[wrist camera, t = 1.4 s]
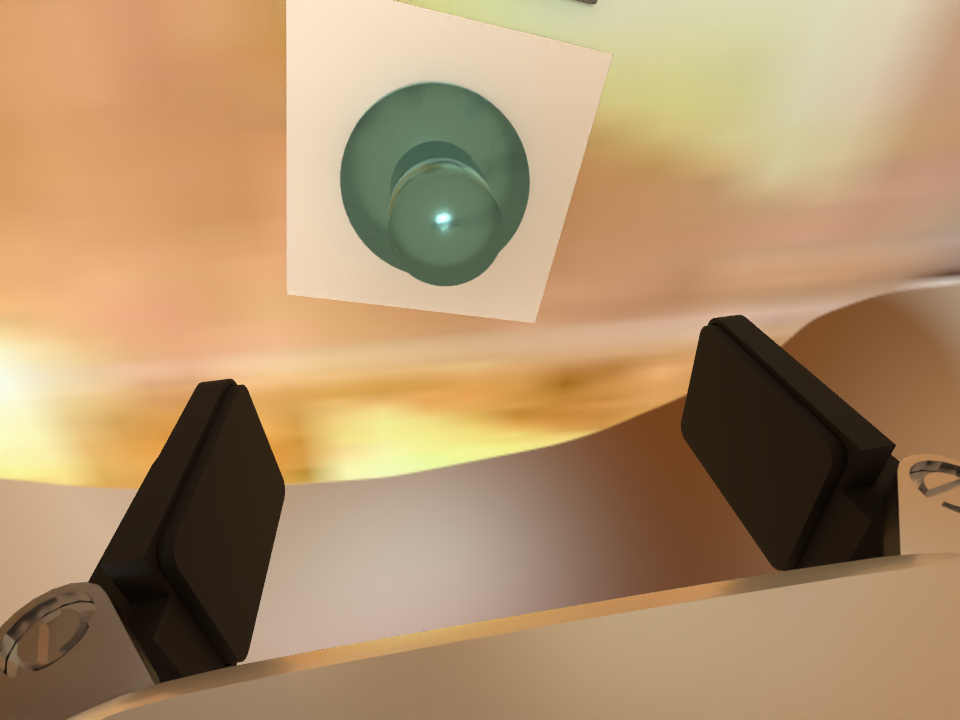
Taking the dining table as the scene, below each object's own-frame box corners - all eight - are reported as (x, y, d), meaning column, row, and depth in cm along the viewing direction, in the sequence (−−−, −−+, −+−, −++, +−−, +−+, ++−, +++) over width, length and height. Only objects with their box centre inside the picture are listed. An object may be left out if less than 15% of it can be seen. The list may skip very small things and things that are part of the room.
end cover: (525, 91, 28) (592, 130, 18) (491, 248, 32) (529, 345, 23) (355, 54, 26) (329, 75, 16) (345, 226, 30) (319, 323, 21)
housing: (580, 49, 27) (613, 54, 23) (518, 286, 34) (534, 323, 30) (305, -18, 24) (286, -26, 20) (301, 258, 31) (286, 294, 27)
